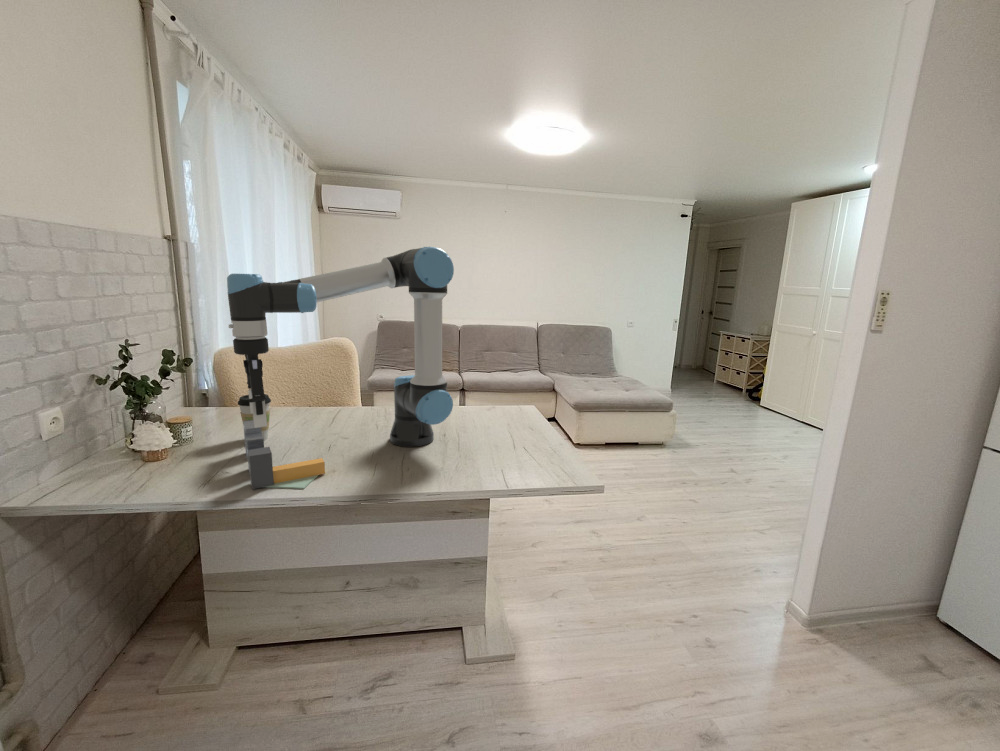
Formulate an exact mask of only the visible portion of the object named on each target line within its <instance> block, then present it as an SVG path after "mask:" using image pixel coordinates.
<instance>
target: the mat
mask: <svg viewBox="0 0 1000 751" xmlns="http://www.w3.org/2000/svg"><path fill="white" fill-rule="evenodd" d="M318 476H319V475H315V476H310V477H305V478H300V479H295V480H289V481H284V482H279V483H274V485H271V486H266V487H265V488H271V489H272V488H274V489H275V488H276V489H277V488H278V489H293V490H294V489H297V490H305V489H306V488H307V487H308V486H309V485H310V484H311V483H312V482H313V481H314V480H315V479H316V478H317V477H318Z"/></svg>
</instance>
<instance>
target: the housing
mask: <svg viewBox="0 0 1000 751" xmlns="http://www.w3.org/2000/svg"><path fill="white" fill-rule="evenodd" d="M242 425H243V427H242V428H243V436H244V448H245V450H244V451H245V456H246V460H247V466H248V473H249V475H250V468H249V456H248V450H251V449H258V448H264V447H265V440H264V438H263V435H262V431H261V427H257V428H255V427H254V420H247V421H243V422H242Z"/></svg>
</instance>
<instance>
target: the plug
mask: <svg viewBox="0 0 1000 751" xmlns="http://www.w3.org/2000/svg"><path fill="white" fill-rule="evenodd" d="M248 456H249V468H250V474H249V478H250V480H249V481H250V484H251V489H252V490H254V489H255V490H256V489H261V488H267V487H266V486H271V485H274V483H279V482H284V481H289V480H295V479H300V478H305V477H310V476H315V475H318V476H320V475H325V474H326V464H325V460H324V459H323V458H322V457H321V458H316V459H314V458H313V459H309V460H303V461H298V462H293V463H292V462H291V463H287V464H281V465H275V466H273V455H272V450H271V448H270V446H266V447H265V446H264V448H258V449H251V450H248ZM249 468H248V469H249Z"/></svg>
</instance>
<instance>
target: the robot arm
mask: <svg viewBox="0 0 1000 751" xmlns="http://www.w3.org/2000/svg"><path fill="white" fill-rule="evenodd" d="M454 272H455V268H454V263H453V260H452V258H451V257H450V255H449V254H448V253H447V252H446V251H445V250H443V249H442V248H439V247H436V246H423V247H419V248H412V249H409V250H406V251H403V252H401V253H398V254H397V253H396V254H395V255H392V256H387V257H383V258H382V259H381V261H379V262H375V263H370V264H365V265H360V266H355V267H350V268H345V269H340V270H337V271H335V270H334V271H332V272H331V271H330V272H324V273H321V274H316V275H312V276H311V275H310V276H307V277H306V276H305V277H302V278H298V279H293V280H287V281H279V282H267V281H264V279H263V277H262V275H261V274H260V273H259V274H257V273H231V274H229V275H227V277H226V282H227V283H226V284H227V297H228V298H227V299H228V306H229V315H230V320H231V322H230V324H228V328H229V329H232V330H231V331H232V332H231V333H232V337H234V338H233V340H232V342H233V345H232V346H233V352H234V354H236V355H239V356H244V357H245V359H244V360H243V367H244V371H245V374H246V380H247V382H246V385H247V389H248V392H247V393H248V395H249V403H250V412H251V414H252V413H253V418H254V427H255V428H257V427H265V426H267V419H266V409H265V396H264V394H265V389H264V381H263V376H264V372H263V368H264V367H263V360H262V359H261V358H260V359H259V355H260V354H261V355H262V354H266V353H268V352H269V350H270V349H269V348H270V347H269V341H268V340H269V338H267V337H266V336H268V325H267V324H268V323H267V318H266V315H267V313H268V314H273V313H279V314H280V313H283V314H284V313H289V314H292V313H293V314H294V313H299V314H305V313H313V312H315V310H316V309H317V304H318V303H320V302H325V301H329V300H334V299H338V298H342V297H347V296H351V295H354V294H359V293H364V292H368V291H373V290H376V289H382V288H385V287H386V288H387V287H388V288H390V289H395V288H400V287H401V288H402V287H408V294H409V295H410V296H411V297H412V298H413V320H414V321H413V322H414V323H413V326H414V327H413V331H414V332H413V334H414V374H412V375H410V374H409V375H401V376H398V377H396V378H395V379H394V382H393V384H394V386H393V394H394V395H393V396H394V398H393V399H394V400H393V401H394V421H393V424H392V427H391V430H390V433H389V441H390V443H391V444H393V445H395V446H397V447H405V448H412V447H413V448H414V447H422V446H426V445H428V444H430V443H432V442H433V441H434V439H435V437H434V435H435V434H434V430H433V428H432V425H439V424H441V423H442V422H444V421H446V420H447V419H448V417H450V415H451V413H452V411H453V406H454V400H453V398H452V396H451V395H450V393H449V392H448V380H447V379H446V377H444V375H443V299H444V298H445V297H446V296H447V295H448V284H450V282H451V281H452V279H453V277H454Z"/></svg>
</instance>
